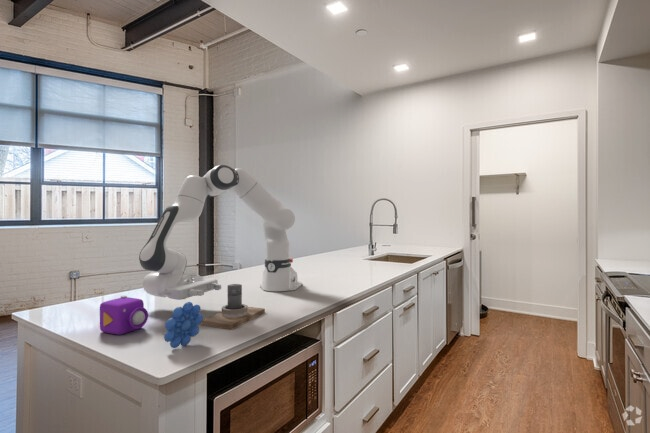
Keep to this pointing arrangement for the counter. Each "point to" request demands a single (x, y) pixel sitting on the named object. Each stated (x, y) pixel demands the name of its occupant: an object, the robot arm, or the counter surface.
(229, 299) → the grey rounded cylinder
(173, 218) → the robot arm
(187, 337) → the blue lumpy cluster
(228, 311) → the mount
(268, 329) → the counter surface
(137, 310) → the toy camera
